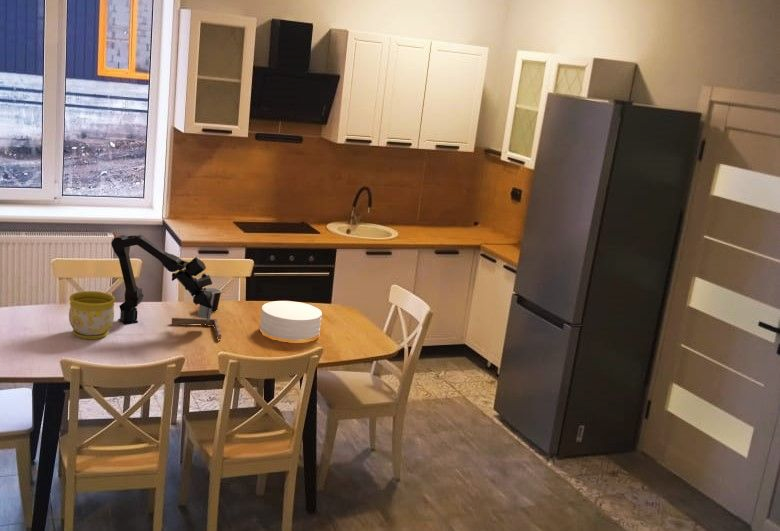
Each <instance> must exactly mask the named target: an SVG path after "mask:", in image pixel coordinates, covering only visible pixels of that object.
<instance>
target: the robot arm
mask: <svg viewBox="0 0 780 531" xmlns="http://www.w3.org/2000/svg"><path fill="white" fill-rule="evenodd" d="M110 243H111V244H110V245H111V247H112V250H113V253H114V254H115V255H116V256H117V258H118V261H119V266H120V270H121V275H122V279H123V282H124V286H125V290H124V301H123V303H121V304H120V305H119V310H120V312H119V313H120V314H119V317H120V318H118V319H117V320H118V321H119V322H120V323H122V324H124V325H129V324H137V323H139V321H138V314H139V313H138V312H139V311H138V308H137V307H138V306H139V305H140V304H141V303H142V302H143V299H144V298H143V297H144V294H143V288H141V287H140V288H139V287H138V286H137V284H136V280H135V276H134V275H135V274H134V270H133V267H132V262H131V258H130V250H131V247H133V246H138V247H140V248H141V249H142V250H144V251H145V252H147V253H148V254H150V255H151V256H152V257H154V258H155V259H156V260H158V261H159V262H160V264H161V265H162V266H163V267H164V268H165V269H166V270H167V271H168V272H170V273H171V281H172V282H173V281H175V280H177V281H178V282H179V283H180V284H181V285H182V286H183V287H184V289H185V290H186V291H188V293H189V294H190V296H191V297H192V303H193V304H195V305H196V306H197V305H199V306H200V305H202V306H205V307H207V308H210V309H211V308H212V306H211V304H210V302H209V301H208V299H207V293H205V292H204V291H202V290H206V288H207V286H211V285H212V284H213V281H212V278H211V276H210V274H206V273H204V271H205V270H206V269H207V268H206V265H205V262H204V261H202V260H201V259H200V258H198V257H197V256H195V257H194V258H192V260H191V261H186V260H183V259H182V258H180V257H178V256H177V255H175V254H172V253H169V252H167V251H165V250H163V249H162V248H161V247H159V246H158V245H157V244H155V243H154V242H152V241H151V240H149V239H148V238H146V237H145V236H144V235H143V234H136V235H125V234H120V235H118V236H116V237H114V238H113V239H112V241H111V242H110ZM202 272H203V273H202ZM200 274H201V277H199V278H198V279H197V276H198V275H200Z"/></svg>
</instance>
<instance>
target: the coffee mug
mask: <svg viewBox="0 0 780 531" xmlns="http://www.w3.org/2000/svg"><path fill="white" fill-rule="evenodd" d="M205 288H206V290H208V291H214V300H213V305H212V311H216V310H217V311H218V308H219V304H220V299H221V294H222V290H221V289H219V288H216V287H205ZM217 311H216V312H217Z"/></svg>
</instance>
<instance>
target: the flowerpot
mask: <svg viewBox="0 0 780 531" xmlns="http://www.w3.org/2000/svg"><path fill="white" fill-rule="evenodd" d="M69 301H70V303H69V306H70V307H69V311H68V321H69V325H70V326H71V328H72V333H73V334H74V335H75V336H76V338H79V339H84V340H99V339H102V338H105V337H107V335H108V334H109V332H110V328H111V327H112V325H113V323H114V319H115V308H114V306H115V302H116V297H115V296H114V295H112V294H110V293H106V292H102V291H95V290H94V291H91V290H90V291H88V290H87V291H79V292H75V293H73V294H71V295H70V296H69Z"/></svg>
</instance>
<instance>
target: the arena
mask: <svg viewBox="0 0 780 531" xmlns="http://www.w3.org/2000/svg"><path fill="white" fill-rule="evenodd" d="M172 324H201V325H205V324H206V325H214V326H213V328H214V327H215V329H214V331H215V330H216V332H215V335H216V334H217V336H216V338H217V337H218V339H221V340H222V332H221V330H220V325H219V323H218V319H217V318H210V321H209V322H207V319H206V318H198V317H197V318H195V317H192V318H191V317H171V325H172ZM218 339H217V340H218Z"/></svg>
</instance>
